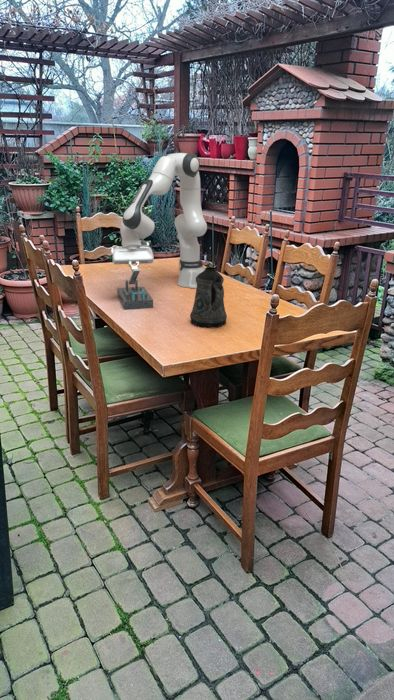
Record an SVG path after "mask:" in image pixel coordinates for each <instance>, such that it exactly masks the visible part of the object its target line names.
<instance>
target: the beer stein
mask: <svg viewBox="0 0 394 700" xmlns="http://www.w3.org/2000/svg"><path fill="white" fill-rule="evenodd" d="M204 268H205V270H204V271H203V272H201V273H200V274H199V275H197V277H196V282H197V288H195V289H196V290H195V293H194V294H195V295H194V302H193V307H192V310H191V312H190V314H189V315H190V316H189V318H190V321H191V324H192V325H193V324H194V325H193V326H195V325H196V326H195V327H198V326H199V327H198V328H204V327H206V329H212V328H211V327H216V328H220V327H223V326H225V324H226V321H227V317H228V315H227V313H226V309H225V308H226V307H225V301H224V297H225V288H224V286H223V283H224V280H225V279H224V277H223V276H222V275H221V273H220V272H218V270H217V268H216V267H213V266H208V267H207V266H206V267H204ZM222 325H223V326H222ZM219 326H220V327H219ZM209 327H210V328H209Z"/></svg>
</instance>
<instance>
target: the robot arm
mask: <svg viewBox="0 0 394 700" xmlns="http://www.w3.org/2000/svg"><path fill="white" fill-rule="evenodd" d="M199 169H200V160H199V157H198V156H197V155H195V154H194V153H191V152H190V153H186V152H178V153H177V152H176V153H171V152H170V153H166V154H164V155H163V156H161V157H159V159H158V160H157V161H156V164H155V166H154V167H153V169H152V172H151V175H150V176H149V178H148V179H145V180H144V181H143V182H142V183H141V185H140V186H139V188H138V190H137V192H136V193H135V195H134V196H133V198H132V200H131V202H130V203H129V206H127V208H126V209H125V210H124V212H123V214H122V220H121V221H120V225H119V226H120V227H119V229H120V230H119V232H120V237H121V246H113V247H112V248H111V249H110V253H111V255H112V264H113V265H128V267H129V268H130V270H131V271H132V270H133V269H139V265H141V264H145V265H146V264H153V262H154V259H155V258H154V253H153V250H152V248H151V247H150V243H149V242H148V241H145V240H143V239H146V238H148V237H150V236H151V235H152V234H154V231H155V228H156V227H155V226H156V224H155V222H154V220H153V219H152V218H150V217H149V216H147V215H146V214H144V213H143V210H142V209H143V207H144V205H145V203H146V201H147V199H148V197H149V196H150V195H153V196H154V195H155V196H164V195H165V194H167V193H168V192H169V191H170V189H171V187H172V184H173V182H174V177H175V176H177V177H180V181H179V204H180V206H181V209H182V211H183V213H180V214H178V215H177V216H176V217H175V219H174V222H173V223H174V227H175V229H176V232H177V236H178V241H179V249H180V250H179V261H178V269H179V273H178V279H177V283H176V285H177V286H179V287H183V288H190V289H196V288H197V282H196V277H197V275H199V274H200V273H201V272H203V271H204V270H205V268H206V267H204V266H205V265H207V264H206V261H203V260H201V259H200V257H201V255H200V254H201V246H200V243H199V241H198V237H203V236H204V235H205V234H206V232H207V230H208V224H207V222H206V220H205V218H204V214H203V210H202V204H201V203H202V201H201V200H202V199H201V193H202V192H201V177H200V171H199Z"/></svg>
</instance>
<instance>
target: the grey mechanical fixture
mask: <svg viewBox="0 0 394 700" xmlns="http://www.w3.org/2000/svg"><path fill="white" fill-rule="evenodd" d="M128 282H129V280H128V279H125V280H124V285H125V287H117V297H118V299H119V301H120V303H121V305H122V307H123V310H140V309H154V299H153V298H152V296H151V295H150V293H149V292H148V291H147V289H146V287H145V286H139V285H138V282H139V281H138V279H136V281H135V284H134V286H130V287H129V284H128Z"/></svg>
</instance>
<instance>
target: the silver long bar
mask: <svg viewBox="0 0 394 700" xmlns="http://www.w3.org/2000/svg"><path fill="white" fill-rule="evenodd" d="M140 272H141V269H140V268H138V269H133V270H131V274H130V278H129V280H128V285H135V281H136V280H138V279H137V278H138V277H139V273H140Z"/></svg>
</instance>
